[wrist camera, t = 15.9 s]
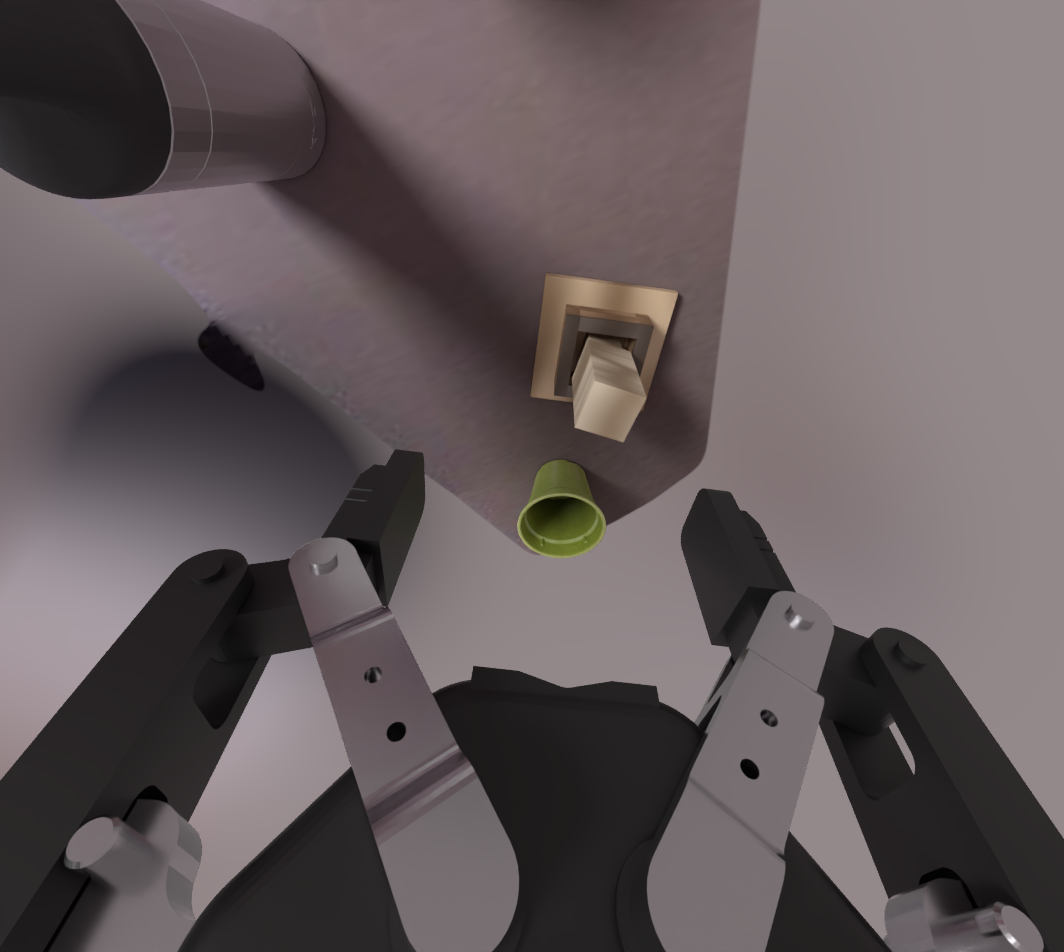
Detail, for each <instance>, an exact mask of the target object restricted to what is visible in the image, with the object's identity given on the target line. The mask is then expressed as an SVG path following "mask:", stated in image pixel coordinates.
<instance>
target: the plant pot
mask: <svg viewBox="0 0 1064 952" xmlns="http://www.w3.org/2000/svg"><path fill="white" fill-rule="evenodd" d="M517 527H518V533H519V536H520V538H521V539H522V541H523V542H524V543H525V544H526V545H527V546H528V547H529V548H530V549H531V550H533V551H535V552H537V553H539V554H541V555H544V556H548V557H553V558H570V557H574V556H579V555H582V554H584V553H586V552H588V551H590V550H591V549H593V548H594V547H595V546H596V545H597V544H598V543H599V542H600V541H601V540H602V538H603V536H604V534H605V531H606V520H605V517H604V514H603V512H602V511H601V509H600V508H599V507H598V506H597V505H596V503H595V502H594V500H593V497H592V494H591V491H590V488H589V485H588V482H587V478H586V475H585V473H584V471H583V469H582V468H581V467H580V466H579V465H578V464H575V463H572V462H569V461H566V460H554V461H550V462H548V463H546V464H544V465H543V466H542V467H541V468H540V470H539V471H538V473H537V475H536V478H535V482H534V486H533V489H532V493H531V496H530V500H529V502H528V504H527V505H526V506H525V508H524V509H523V510H522V512H521V513H520V516H519V519H518V524H517Z"/></svg>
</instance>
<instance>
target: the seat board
mask: <svg viewBox="0 0 1064 952" xmlns="http://www.w3.org/2000/svg"><path fill="white" fill-rule="evenodd" d="M677 296H678V292H677V291H676V290H668V289H661V288H654V287H647V286H639V285H632V284H625V283H618V282H610V281H603V280H596V279H589V278H581V277H574V276H567V275H560V274H552V273H546V277H545V285H544V293H543V301H542V309H541V317H540V325H539V333H538V341H537V348H536V356H535V364H534V372H533V380H532V388H531V396H530V397H536V398H543V399H551V400H559V401H567V402H573V389H572V377H573V374H574V372H575V369H576V367H577V363H576V358H577V356H578V353H579V351H580V348H581V345H582V343H583V340H584V338H585V335H586V333H587V332H589V333H596V334H604V335H610V336H612V337H615V338H618V339H620V342H621V345H622V348H623V349H624V350H627V351H630V352H631V354H632V357H633V360H634V363H635V366H636V369H637V371H638V374H639V377H640V380H641V383H642V386H643V388H644V391H645V394H646V397H647V396H648V392H649V389H650V386H651V382H652V379H653V376H654V372H655V369H656V366H657V363H658V359H659V356H660V353H661V349H662V346H663V343H664V339H665V336H666V333H667V329H668V326H669V323H670V319H671V316H672V313H673V309H674V306H675V303H676V299H677ZM646 399H647V398H646ZM645 402H646V400H645ZM645 402H644V404H643V406H642V408H641V410H640V411H643V409H644V406H645Z"/></svg>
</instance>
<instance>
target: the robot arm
mask: <svg viewBox="0 0 1064 952" xmlns="http://www.w3.org/2000/svg"><path fill="white" fill-rule="evenodd" d="M325 134H326V124H325V113H324V108H323V103H322V99H321V96H320V93H319V90H318V88H317V85H316V82H315V80H314V79H313V77H312V75H311V73H310V71H309V69H308V67H307V66H306V64H305V63H304V62H303V60H302V59H301V58H300V56H299V55H298V54H297V52H296V51H295V50H294V49H293V48H292V47H291V46H290V45H289V44H288V43H287V42H286V41H285V40H284V39H282V38H281V37H279V36H278V35H276V34H275V33H274V32H272V31H271V30H269V29H267V28H264V27H262V26H260V25H257V24H255V23H253V22H250V21H248V20H246V19H243V18H241V17H239V16H236V15H234V14H232V13H230V12H228V11H225V10H223V9H220V8H218V7H216V6H213V5H211V4H208V3H206V2H204V1H201V0H0V168H2V169H3V170H5V171H7V172H9V173H10V174H11V175H13V176H15V177H17V178H19V179H20V180H22V181H24V182H26V183H28V184H30V185H32V186H35V187H37V188H39V189H42V190H45V191H47V192H50V193H53V194H57V195H61V196H65V197H71V198H78V199H105V198H115V197H124V196H134V195H143V194H153V193H162V192H169V191H178V190H187V189H196V188H206V187H215V186H224V185H234V184H243V183H253V182H264V181H273V180H281V179H289V178H296V177H298V176H300V175H303V174H305V173H306V172H307V171H309V170H310V169H311V168H312V167H313V166H314V165H315V163H316V162H317V160H318V159H319V157H320V155H321V152H322V149H323V146H324V141H325ZM424 502H425V478H424V457H423V453H421V452H413V451H405V450H397V449H396V450H394V452H393V454H392V455H391V457H390V459H389V461H388V463H387V465H386V466H383V465H373V466H372V467H370V468H369V469H367V470H366V471H365V472H363V473H362V474H360V476H359V477H358V479H357V481H356V482H355V484H354V486H353V489H352V490H350V492H349V494H348V496H347V497H346V500H344V502H343V504H342V505H341V507H340V508H339V510H338V512H337V514H336V515H335V517H334V518H333V520H332V521H331V523H330V525H329V526H328V528H327V530H326V531H325V533H324V535H323V536H322V538H321V539H317V540H314V541H311V542H309V543H307V544H305V545H303V546H302V547H300V548H299V549H298V550H297V551H296V552H295V553H294V554H293V555H292V557H291V558H290V559H286V560H280V561H273V562H266V563H258V564H250V565H248V563H247V561H246V559H245V557H244V556H243V555H242V554H241V553H239V552H237V551H233V550H228V549H219V550H212V551H207V552H204V553H201V554H198V555H196V556H193V557H191V558H190V559H188V560H186V561H185V562H183V563H182V564H181V565H179V566H178V567H177V568H176V569H175V570H174V571H173V572H172V574H171V575H170V576H169V577H168V579H167V580H166V581H165V582H164V583H163V584H162V586H161V587H160V588H159V589H158V591H157V592H156V593H155V594H154V595H153V597H152V598H151V599H150V600H149V601H148V603H147V604H146V605H145V606H144V608H143V609H142V610H141V611H140V612H139V614H138V615H137V616H136V617H135V618H134V620H133V621H132V622H131V623H130V625H129V626H128V627H127V628H126V629H125V630H124V632H123V633H122V634H121V635H120V636H119V638H118V639H117V640H116V642H115V643H114V644H113V645H112V646H111V647H110V649H109V650H108V651H107V652H106V653H105V655H104V656H103V657H102V658H101V660H100V661H99V662H98V663H97V664H96V666H95V667H94V668H93V669H92V670H91V672H90V673H89V674H88V675H87V677H86V678H85V679H84V680H83V681H82V682H81V684H80V685H79V686H78V687H77V689H76V690H75V691H74V692H73V693H72V695H71V696H70V697H69V698H68V699H67V701H66V702H65V703H64V704H63V706H62V707H61V708H60V709H59V710H58V711H57V713H56V714H55V715H54V716H53V718H52V719H51V720H50V721H49V722H48V724H47V725H46V726H45V727H44V728H43V730H42V731H41V732H40V733H39V734H38V736H37V737H36V738H35V740H34V741H33V742H32V743H31V745H29V747H28V748H27V749H26V750H25V751H24V753H23V754H22V755H21V756H20V757H19V759H18V760H17V761H16V762H15V764H14V765H13V766H12V767H11V768H10V770H9V771H8V772H7V773H6V774H5V776H4V777H3V778H2V779H1V780H0V952H1064V839H1063V837H1062V836H1061V834H1060V833H1059V832H1058V830H1057V828H1056V827H1055V826H1054V824H1053V823H1052V821H1051V820H1050V818H1049V817H1048V815H1047V814H1046V813H1045V811H1044V810H1043V808H1042V807H1041V805H1040V804H1039V802H1038V801H1037V800H1036V798H1035V797H1034V795H1033V794H1032V792H1031V791H1030V789H1029V788H1028V787H1027V785H1026V783H1025V782H1024V781H1023V779H1022V778H1021V776H1020V775H1019V773H1018V772H1017V770H1016V769H1015V768H1014V766H1013V765H1012V763H1011V762H1010V760H1009V759H1008V757H1007V756H1006V755H1005V753H1004V752H1003V750H1002V749H1001V747H1000V746H999V744H998V743H997V742H996V740H995V739H994V737H993V736H992V734H991V733H990V731H989V730H988V728H987V727H986V726H985V724H984V723H983V721H982V720H981V718H980V717H979V715H978V714H977V712H976V711H975V709H974V708H973V707H972V705H971V704H970V703H969V701H968V699H967V698H966V696H965V695H964V694H963V692H962V691H961V689H960V688H959V686H958V685H957V683H956V682H955V680H954V679H953V677H952V676H951V675H950V673H949V672H948V670H947V669H946V667H945V666H944V664H943V663H942V662H941V660H940V659H939V658H938V656H937V655H936V654H935V653H934V652H933V651H932V650H931V649H930V648H929V647H928V646H927V645H925V644H924V643H923V642H921V641H920V640H918V639H917V638H915V637H913V636H912V635H910V634H908V633H906V632H903V631H901V630H897V629H893V628H880V629H878V630H877V631H875V632H874V633H873V634H872V635H871V636H870V637H869V638H866V637H864V636H861V635H858V634H855V633H853V632H850V631H847V630H845V629H842V628H839V627H836V626H834V625H833V623H832V621H831V619H830V617H829V616H828V614H827V613H826V612H825V611H824V610H823V609H822V608H821V607H820V606H819V605H818V604H816V603H815V602H814V601H812V600H811V599H809V598H807V597H805V596H803V595H801V594H798V593H796V591H795V590H794V588H793V586H792V584H791V582H790V580H789V578H788V577H787V575H786V573H785V571H784V569H783V567H782V565H781V564H780V562H779V560H778V558H777V556H776V554H775V553H773V549H772V547H771V545H770V543H769V541H767V537H766V535H765V534H764V532H763V530H762V528H761V526H760V524H759V523H758V522H757V521H756V520H755V519H754V518H752V517H751V516H750V515H749V514H748V513H747V512H746V511H741V510H740V509H739V507H738V505H737V503H736V501H735V499H734V498H733V496H732V494H731V493H730V492H728V491H720V490H712V489H701V490H700V491H699V492H698V494H697V496H696V499H695V501H694V503H693V505H692V508H691V510H690V512H689V514H688V517H687V519H686V522H685V524H684V526H683V529H682V533H681V546H682V550H683V554H684V557H685V560H686V563H687V566H688V570H689V573H690V576H691V579H692V583H693V586H694V589H695V592H696V596H697V599H698V602H699V605H700V609H701V612H702V615H703V618H704V622H705V625H706V628H707V631H708V635H709V638H710V641H711V644H712V645H717V646H726V647H729V649H730V652H731V656H730V657H729V659H728V660H727V662H726V664H725V665H724V667H723V669H722V671H721V673H720V675H719V677H718V679H717V681H716V683H715V685H714V687H713V689H712V691H711V693H710V694H709V696H708V698H707V700H706V702H705V704H704V706H703V708H702V710H701V712H700V714H699V715H698V717H697V719H696V720H695V722H692V721H691V720H690V719H689V718H687V717H686V716H685V715H683V714H681V713H680V712H679V711H677V710H675V709H674V708H672V707H670V706H668V705H665V704H664V703H661V702H659V699H658V693H657V687H656V686H650V685H641V684H632V683H623V682H614V681H611V682H604V683H598V684H592V685H585V686H578V687H573V688H564V687H560V686H557V685H555V684H552V683H550V682H547V681H544V680H542V679H539V678H536V677H533V676H531V675H528V674H526V673H523V672H520V671H513V670H505V669H496V668H487V667H478V666H473V672H472V678H471V680H467V681H462V682H458V683H455V684H451V685H449V686H446V687H444V688H442V689H439V690H437V691H436V692H434V693H432V692H431V690H430V688H429V686H428V684H427V682H426V680H425V678H424V676H423V674H422V672H421V670H420V668H419V666H418V664H417V662H416V660H415V658H414V656H413V654H412V652H411V650H410V648H409V646H408V644H407V642H406V640H405V638H404V636H403V633H402V631H401V630H400V627H399V625H398V623H397V621H396V619H395V617H394V615H393V614H392V612H391V610H390V609H389V608H388V604H389V602H390V599H391V596H392V594H393V591H394V588H395V586H396V583H397V580H398V577H399V575H400V572H401V570H402V567H403V564H404V562H405V559H406V556H407V554H408V551H409V548H410V546H411V543H412V540H413V538H414V535H415V532H416V530H417V527H418V524H419V522H420V519H421V516H422V513H423V509H424ZM383 606H386V608H384V607H383ZM310 647H313V648H314V652H315V655H316V658H317V661H318V664H319V667H320V670H321V673H322V676H323V680H324V682H325V686H326V689H327V692H328V695H329V698H330V701H331V705H332V708H333V711H334V714H335V717H336V720H337V723H338V727H339V730H340V733H341V736H342V739H343V742H344V745H345V748H346V752H347V755H348V758H349V761H350V764H351V767H350V768H349V769H348V770H347V771H346V772H345V773H344V774H343V775H342V776H341V777H339V779H338V780H336V781H335V782H334V783H333V784H332V785H331V786H330V787H329V788H328V789H327V790H326V791H325V792H324V793H323V794H322V795H320V797H318V798H317V799H316V800H315V801H314V802H313V803H312V804H311V805H310V806H309V807H308V808H307V809H306V810H305V811H304V812H303V813H301V814H300V815H299V816H298V817H297V818H296V819H295V820H294V821H293V822H292V823H291V824H290V825H289V826H288V827H287V828H286V829H285V830H284V831H283V832H281V833H280V834H279V835H278V836H277V837H276V838H275V839H274V840H273V841H272V842H271V843H270V844H269V845H268V846H267V847H266V848H264V850H262V851H261V852H260V853H259V854H258V855H257V856H256V857H255V858H254V859H253V860H252V861H251V862H250V863H249V864H248V865H247V866H245V867H244V868H243V869H242V870H241V871H240V872H239V873H238V874H237V875H236V876H235V877H234V878H233V879H232V880H231V881H230V882H229V883H228V884H227V885H226V886H225V887H224V888H223V889H222V890H221V891H220V892H219V893H218V894H217V895H216V896H215V897H214V899H213V900H212V901H211V902H210V903H209V905H208V906H207V907H206V909H205V910H204V911H203V912H202V914H201V915H200V916H199V918H198V919H197V920H196V919H195V917H194V914H193V911H192V903H191V901H192V900H191V899H192V889H193V884H194V881H195V878H196V874H197V872H198V869H199V866H200V861H201V856H202V844H201V839H200V836H199V834H198V832H197V831H196V830H195V828H193V827H192V826H191V825H190V824H189V823H188V822H189V819H190V817H191V816H192V813H193V812H194V809H195V807H196V805H197V804H198V802H199V799H200V798H201V796H202V793H203V791H204V789H205V787H206V785H207V783H208V781H209V779H210V777H211V775H212V773H213V771H214V769H215V767H216V765H217V763H218V761H219V759H220V757H221V755H222V753H223V751H224V749H225V747H226V745H227V743H228V741H229V739H230V737H231V735H232V733H233V731H234V729H235V727H236V725H237V723H238V721H239V719H240V717H241V715H242V713H243V711H244V709H245V707H246V705H247V703H248V701H249V699H250V697H251V695H252V693H253V691H254V689H255V687H256V685H257V683H258V681H259V679H260V677H261V675H262V673H263V671H264V669H265V667H266V665H267V663H268V661H269V659H270V657H271V655H273V654H278V653H284V652H289V651H294V650H299V649H305V648H310ZM893 722H895V723H896V725H897V727H898V728H899V730H900V732H901V734H902V736H903V738H904V740H905V742H906V743H907V745H908V747H909V749H910V751H911V753H912V755H913V758H914V761H915V774H914V775H913V773H912V771H911V769H910V767H909V765H908V763H907V761H906V759H905V757H904V755H903V753H902V751H901V750H900V748H899V746H898V744H897V742H896V740H895V738H894V736H893V734H892V732H891V730H890V728H889V726H890V725H891V724H892V723H893ZM818 724H819V725H820V727H821V730H822V733H823V735H824V737H825V740H826V742H827V745H828V747H829V750H830V753H831V755H832V757H833V760H834V762H835V765H836V767H837V770H838V772H839V775H840V777H841V780H842V783H843V785H844V788H845V790H846V793H847V795H848V798H849V800H850V803H851V805H852V808H853V810H854V813H855V815H856V818H857V820H858V823H859V825H860V828H861V830H862V833H863V835H864V838H865V840H866V843H867V846H868V848H869V850H870V853H871V855H872V858H873V861H874V863H875V866H876V868H877V871H878V873H879V876H880V878H881V881H882V883H883V885H884V888H885V891H886V893H887V895H888V898H889V900H888V902H887V905H886V908H885V926H886V931H887V935H886V936H885V938H884V941H883V940H882V939H881V938H880V936H879V935H878V934H877V933H876V932H875V930H874V929H873V928H872V927H871V926H870V925H869V923H868V922H867V921H866V920H865V919H864V918H863V916H862V915H861V914H860V913H859V912H858V911H857V910H856V908H855V907H854V906H853V905H852V904H851V902H850V901H849V900H848V899H847V898H846V897H845V895H844V894H843V893H842V892H841V891H840V890H839V889H838V887H837V886H836V885H835V884H834V883H833V881H832V880H831V879H830V878H829V877H828V876H827V874H826V873H825V872H824V871H823V870H822V869H821V867H820V866H819V865H818V864H817V863H816V862H815V860H814V859H813V858H812V857H811V856H810V855H809V853H808V852H807V851H806V850H805V849H804V848H803V846H802V845H801V844H800V843H799V842H798V841H797V840H796V838H795V837H794V836H793V835H792V834H791V832H790V831H789V829H790V825H791V821H792V818H793V814H794V811H795V807H796V803H797V800H798V796H799V792H800V789H801V785H802V782H803V778H804V775H805V771H806V767H807V764H808V760H809V756H810V753H811V749H812V745H813V742H814V739H815V735H816V731H817V727H818Z"/></svg>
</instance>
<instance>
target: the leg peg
mask: <svg viewBox="0 0 1064 952" xmlns="http://www.w3.org/2000/svg"><path fill="white" fill-rule="evenodd" d="M576 363H577V367H576V369H575V372H574V374H573V377H572V389H573V407H574V425H575V428H578V429H581V430H584V431H587V432H591V433H594V434H597V435H601V436H604V437H607V438H611V439H614V440H617V441H621V442H624V440H625V438H626V436H627V435H628V433H629V431H630V429H631V427H632V425H633V423H634V421H635V419H636V417H637V415H638V413H639V412H640V410H641V408H642V406H643V404H644V402H645V400H646V398H647V397H646V394H645V391H644V388H643V386H642V383H641V380H640V377H639V374H638V371H637V369H636V366H635V363H634V360H633V357H632V354H631V352H630V351H627V350H624V349H623V348H622V345H621V342H620V339H618V338H615V337H612V336H610V335H604V334H596V333H589V332H587V333H586V335H585V338H584V340H583V343H582V345H581V348H580V351H579V353H578V356H577V358H576Z"/></svg>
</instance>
